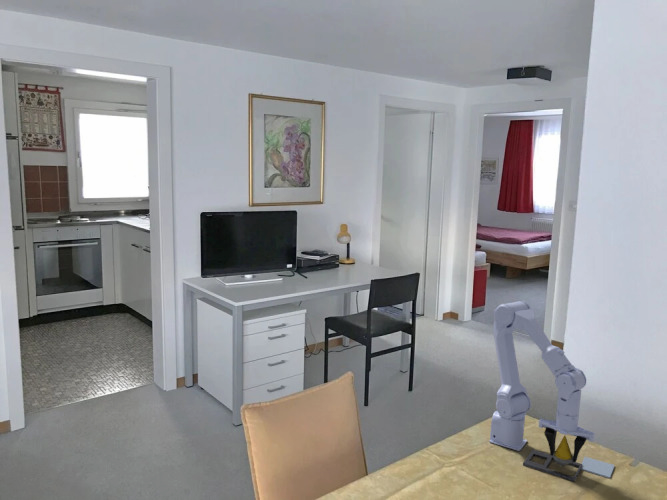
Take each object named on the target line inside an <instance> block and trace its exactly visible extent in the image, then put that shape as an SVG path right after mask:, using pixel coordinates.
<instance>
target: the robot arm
mask: <svg viewBox="0 0 667 500" xmlns="http://www.w3.org/2000/svg"><path fill="white" fill-rule="evenodd" d="M493 318H494V321H493V325H492V330H493V338H494V344H495V351H496V357H497V363H498V369H499V370H498V371H499V376H500V384H501V386H500V387H499V388H498V390H497V392H496V402H495V408H496V410H495V411H494V412H493V414H492V417H491V423H490V434H489V441H488V442H489V443H491V444H494V445H497V446H502V447H504V448H508V449H510V450H511V449H512V450H515V451H518V452H520V451H521V450H522V449H523V448H524V446H525V445H526V443H528V439H524V434H525V433H524V432H525V422H526V415H527V412H529V411H530V409H531V406H532V402H531V398H530V397H529V395H528V392H527V388H526V387H525V386H524V385H523V384H521V380H520V374H519V369H518V361H517V355H516V349H515V343H514V336H513V332H514V331H515V330H516V329H518V330H522V331H524V332H525V333H526V334H527V336H528V337H529V338H530V339H531V340H532V341H533V343H534V344H535V345H536V346H537V347H538V349H539V350H540V351H541V359H542V361H543V362H544V364H545V365H546V366H547V368H548V370H550V372H551V373H552V376H554V377H555V379H554V383H555V386H556V388H557V395H558V396H557V404H556V405H557V406H556V415H555V416H556V418H555V420H552V419H551V420H550V419H544V418H540V419H539V420H538V428H540V429H542V428H544V429H545V430H544V431H543V432H544V436H545V438H546V440H547V443H548V447H549V454H550V455H552V456H553V453H554V451H556V439H557V432H558V433H559V434H561V435H565V436H567V435H570V436H573V437H575V438H574V441H573V443H574V445H573V446H574V447H573V462H577V460H578V457H579V456H578V455H579V453H580V451H581V449H582V448H583V447H584V445H585V443H586V441H587V440H588V441H589V442H590V443H591V442H592V443H594V441H595V436H596V433H595V432H593V431H589V430H587V429H585V428H582V427H580V426H579V416H580V409H581V398H582V389H583V388H585V386H586V385H587V378H586V374H585V373H584V371H583V370H581V369H580V368H577V367H576V366H575V365H573V364H572V363H571V362H570V360H569V359H568V357H567V356H566V355H565V351H564V350H563V349H562V348H560V347H559V346H555V345H553V344H552V343H551V341H550V339H549V338H548V336H547V335H546V333H545V332H544V330H543V328H542V327H541V325H540V323H539V322H538V321H537V319H536V316H535V312H534V310H533V309H532V308H531V306H530V305H529V303H528V302H526V301H524V300H518V301H514V302H513V301H512V302H508V303H501V304H499V305H498V306H497V307H496V308H494V311H493Z"/></svg>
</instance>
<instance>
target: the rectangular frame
mask: <svg viewBox="0 0 667 500" xmlns="http://www.w3.org/2000/svg"><path fill="white" fill-rule="evenodd" d="M534 457H537V458H540V459H542V460H545V462H544V463H543V464H541V463H538V462H534V461H532V459H533V458H534ZM552 461H554V458H553V456H552V455H550V453H547V452H543V451H540V450H536V449H532V450H531V451H530V452H529V454H528V456H527V457H526V458H525V459H524V461H523V462H522V466H523V467H526V468H529V469H533V470H537V471H539V472H541V473H546V474H547V475H551V476H555V477H557V478H561V479H563V480H567V481H571V482H572V483H576V481H577V478H578V476H579V474H580V473H581V471H582V470H581V467H582V465H583V464H581V462H577V461H576V462H572V463H570V464H567V465H569V466H572V467H575V468H577V470H576V472H575V474H574V476H573V475H569V474H566V473H563V472H560V471H558V470H553V469H551V468H549V466H550V464H551V462H552Z"/></svg>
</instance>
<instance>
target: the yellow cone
mask: <svg viewBox="0 0 667 500" xmlns="http://www.w3.org/2000/svg"><path fill="white" fill-rule="evenodd" d="M563 435H564V434H563ZM573 455H574V453H572V451H571V449H570V446H569V442H568V440H567V435H564V436H563V437H562V439H561V441H560V443H559V444H558V446H557V449H555V451H554V453H553V458H554V460H553V462H554V463H555V464H557V465H559V466H560V467H562V468H563V467H564V466H565V465H568V464H570V463H572V462H573Z"/></svg>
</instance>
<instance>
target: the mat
mask: <svg viewBox="0 0 667 500" xmlns="http://www.w3.org/2000/svg"><path fill="white" fill-rule="evenodd" d="M580 464H583V465H582V467H581V470H580V471H584V472H587V473H590V474H594V475H598V476H600V477H604V478H607V479H611V476H612V475H613V471H614V470H615V467H616V466H615V464H611V463H609V462H606V461H603V460H602V461H601V460H599V459H595V458H591V457H588V456H584V457H583V459H582V461H581V462H580Z"/></svg>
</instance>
